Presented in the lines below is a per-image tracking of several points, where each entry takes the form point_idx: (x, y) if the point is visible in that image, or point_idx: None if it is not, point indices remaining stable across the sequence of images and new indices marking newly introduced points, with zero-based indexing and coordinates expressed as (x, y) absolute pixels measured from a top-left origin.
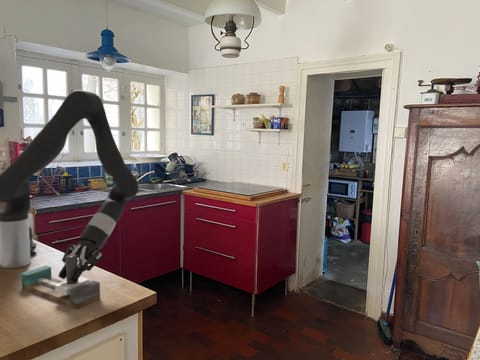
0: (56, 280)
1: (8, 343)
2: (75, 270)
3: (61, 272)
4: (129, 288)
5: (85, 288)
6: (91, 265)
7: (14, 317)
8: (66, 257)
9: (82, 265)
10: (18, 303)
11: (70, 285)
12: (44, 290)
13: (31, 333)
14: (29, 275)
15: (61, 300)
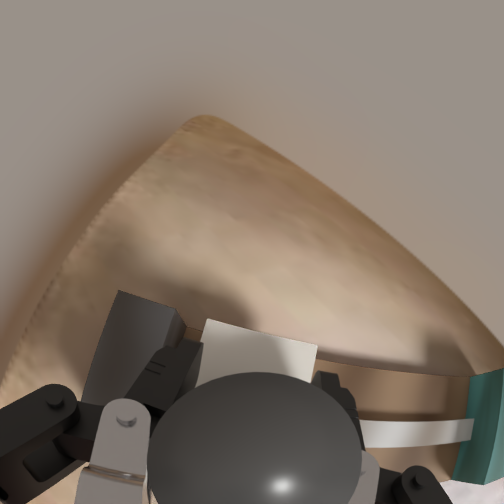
0: None
1: (226, 127)
2: (161, 389)
3: (326, 388)
4: None
5: (97, 348)
6: (42, 455)
7: (330, 213)
8: (303, 393)
9: (99, 434)
10: (407, 292)
11: (213, 369)
12: (393, 383)
13: (202, 161)
14: (499, 379)
15: None
